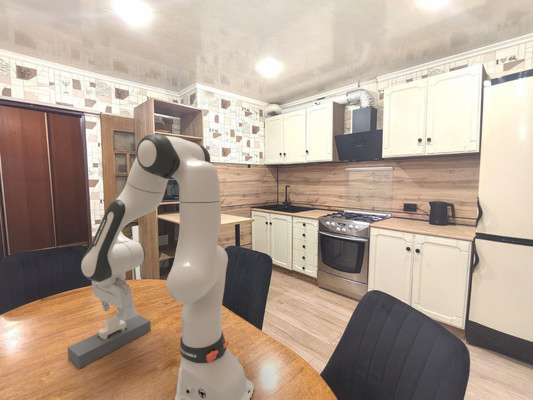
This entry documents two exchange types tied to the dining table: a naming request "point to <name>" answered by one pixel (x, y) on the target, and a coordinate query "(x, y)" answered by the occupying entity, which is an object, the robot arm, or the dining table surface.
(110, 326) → the clip
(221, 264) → the robot arm
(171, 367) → the dining table surface
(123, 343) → the rail
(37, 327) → the dining table surface
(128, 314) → the flask
